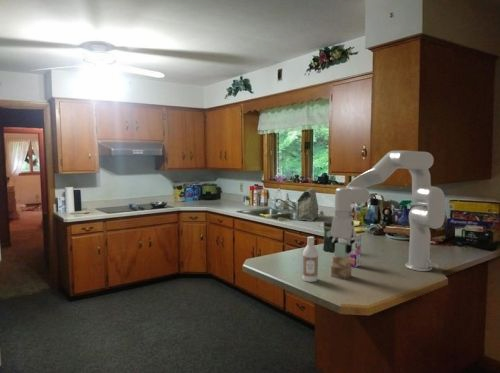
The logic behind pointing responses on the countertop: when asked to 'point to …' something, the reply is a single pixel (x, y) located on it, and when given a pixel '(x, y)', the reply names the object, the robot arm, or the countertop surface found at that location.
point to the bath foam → (310, 262)
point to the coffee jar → (327, 241)
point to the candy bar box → (354, 251)
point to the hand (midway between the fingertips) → (341, 251)
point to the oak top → (341, 262)
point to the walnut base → (341, 272)
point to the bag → (307, 206)
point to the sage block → (341, 249)
